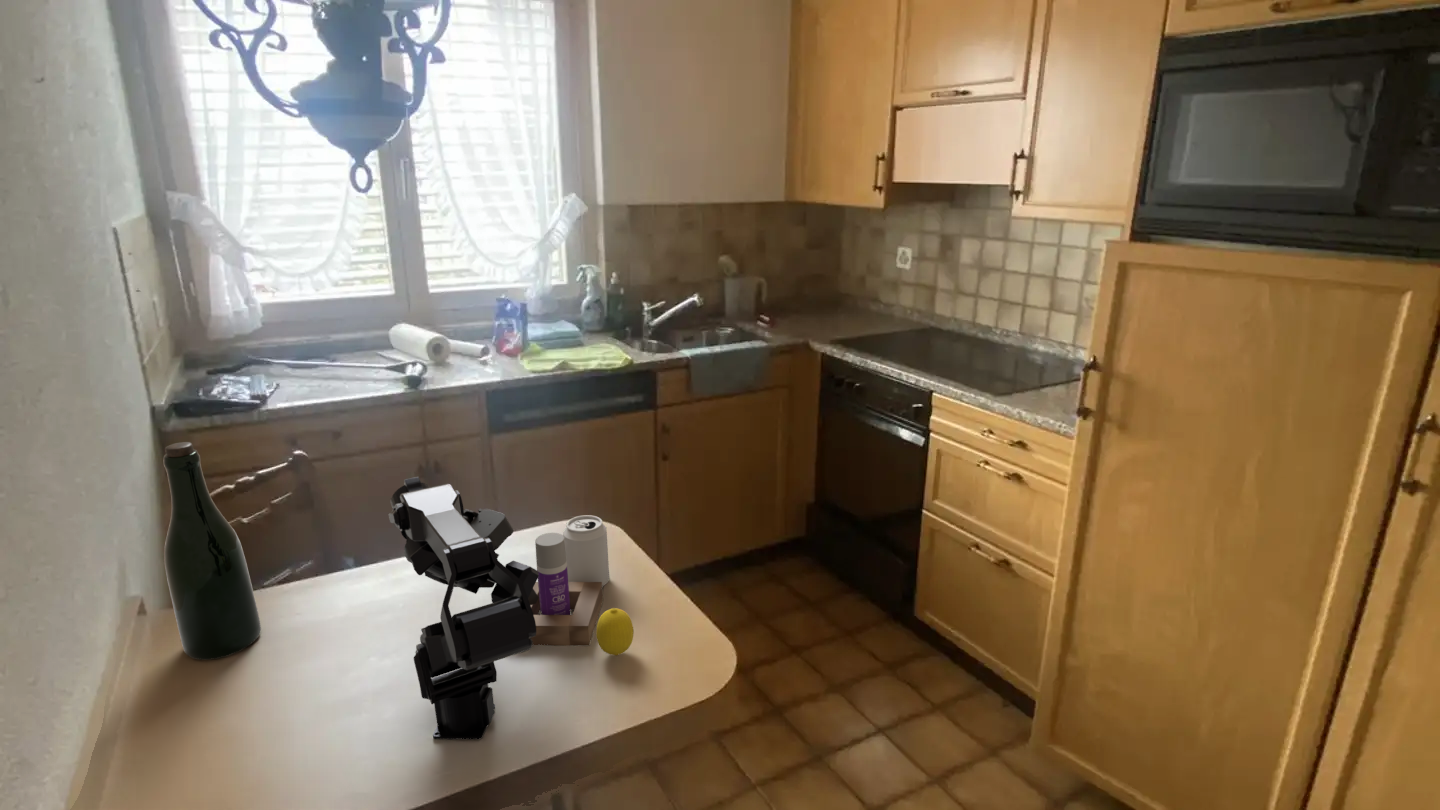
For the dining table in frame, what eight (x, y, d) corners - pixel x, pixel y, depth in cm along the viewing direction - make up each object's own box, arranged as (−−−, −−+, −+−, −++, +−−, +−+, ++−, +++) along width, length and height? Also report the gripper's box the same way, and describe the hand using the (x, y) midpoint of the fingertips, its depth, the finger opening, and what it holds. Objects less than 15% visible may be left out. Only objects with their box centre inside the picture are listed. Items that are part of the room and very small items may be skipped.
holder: (505, 645, 122) (503, 625, 121) (527, 599, 134) (525, 581, 133) (589, 645, 122) (588, 625, 120) (603, 600, 134) (601, 581, 133)
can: (606, 594, 136) (602, 531, 132) (563, 594, 136) (558, 531, 132) (612, 572, 143) (609, 512, 139) (571, 572, 143) (566, 512, 139)
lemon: (628, 668, 116) (625, 621, 114) (592, 663, 117) (589, 617, 115) (639, 646, 121) (637, 600, 119) (605, 642, 122) (602, 597, 120)
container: (557, 634, 125) (550, 548, 120) (535, 625, 127) (527, 541, 122) (577, 619, 128) (571, 536, 124) (555, 611, 131) (549, 529, 126)
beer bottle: (261, 650, 121) (217, 449, 111) (180, 670, 117) (127, 463, 107) (263, 616, 130) (223, 428, 120) (188, 634, 126) (140, 439, 116)
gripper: (522, 515, 104) (584, 557, 116) (431, 488, 114) (497, 529, 126) (481, 595, 100) (550, 629, 112) (391, 559, 110) (463, 594, 122)
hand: (514, 592), depth 118 cm, fingers open, 9 cm apart
